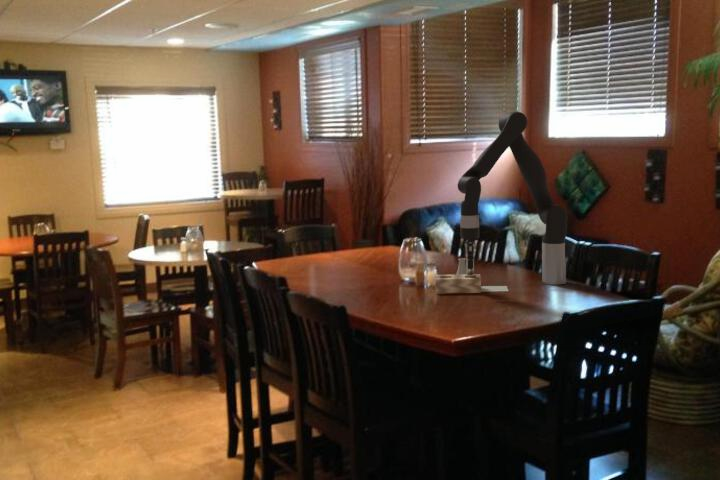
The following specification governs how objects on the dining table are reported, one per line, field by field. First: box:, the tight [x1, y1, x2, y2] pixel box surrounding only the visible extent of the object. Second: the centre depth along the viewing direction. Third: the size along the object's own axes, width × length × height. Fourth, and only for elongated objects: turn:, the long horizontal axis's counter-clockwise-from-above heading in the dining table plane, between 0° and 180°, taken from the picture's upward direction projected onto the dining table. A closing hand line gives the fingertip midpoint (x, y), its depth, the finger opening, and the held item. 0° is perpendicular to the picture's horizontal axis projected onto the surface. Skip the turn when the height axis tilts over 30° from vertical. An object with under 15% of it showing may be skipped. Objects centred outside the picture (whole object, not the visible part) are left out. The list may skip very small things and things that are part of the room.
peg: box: [465, 253, 475, 275], centre depth 291 cm, size 3×3×10 cm
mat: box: [481, 285, 509, 293], centre depth 294 cm, size 12×10×1 cm
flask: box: [456, 257, 467, 274], centre depth 312 cm, size 7×7×10 cm
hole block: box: [435, 273, 482, 295], centre depth 293 cm, size 18×10×6 cm, turn 83°
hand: (470, 267), depth 292 cm, fingers closed on peg, 3 cm apart
